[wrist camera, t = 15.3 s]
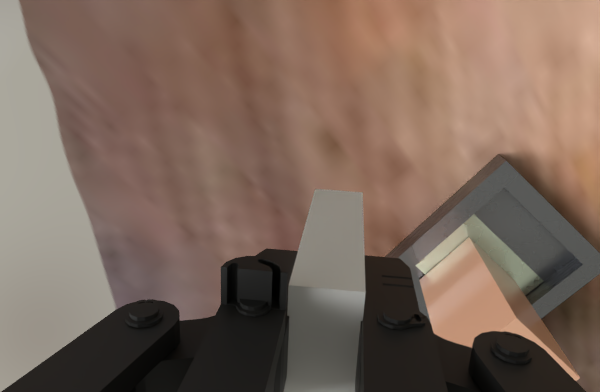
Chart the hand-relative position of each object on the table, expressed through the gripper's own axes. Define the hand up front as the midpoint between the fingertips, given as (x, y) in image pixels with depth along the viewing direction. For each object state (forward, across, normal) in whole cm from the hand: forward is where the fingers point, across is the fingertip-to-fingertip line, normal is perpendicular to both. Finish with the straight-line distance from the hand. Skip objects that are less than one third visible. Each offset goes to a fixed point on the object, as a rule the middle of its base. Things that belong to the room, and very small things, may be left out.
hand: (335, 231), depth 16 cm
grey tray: (+29, +9, -18) cm, 35 cm away
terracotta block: (+28, +12, -15) cm, 34 cm away
